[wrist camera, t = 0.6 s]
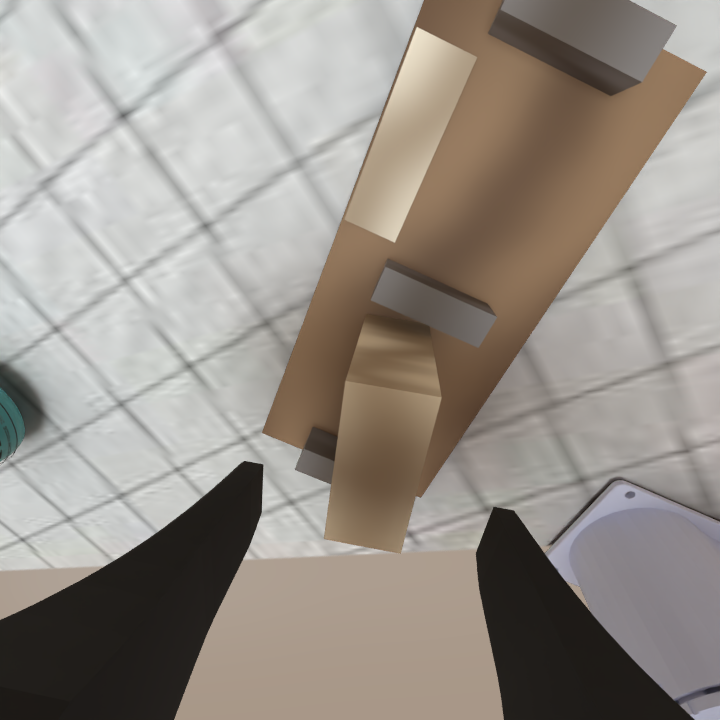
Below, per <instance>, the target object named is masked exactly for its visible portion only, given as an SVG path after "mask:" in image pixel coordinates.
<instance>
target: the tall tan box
mask: <svg viewBox="0 0 720 720" xmlns="http://www.w3.org/2000/svg"><path fill="white" fill-rule="evenodd" d="M441 398H442V397H441V391H440V385H439V379H438V374H437V368H436V362H435V356H434V351H433V345H432V339H431V333H430V328H429V326H428V325H426V324H423V323H420V322H414V321H407V320H401V319H395V318H389V317H383V316H377V315H371V314H366V317H365V320H364V323H363V326H362V329H361V333H360V336H359V339H358V342H357V346H356V349H355V352H354V355H353V358H352V362H351V365H350V368H349V371H348V374H347V378H346V381H345V388H344V395H343V403H342V410H341V417H340V425H339V432H338V439H337V447H336V454H335V461H334V469H333V476H332V483H331V491H330V498H329V505H328V513H327V520H326V527H325V534H324V539H327V540H332V541H337V542H342V543H347V544H353V545H358V546H363V547H368V548H374V549H379V550H384V551H389V552H395V553H400V554H401V550H402V546H403V542H404V539H405V535H406V531H407V527H408V523H409V520H410V516H411V512H412V508H413V504H414V501H415V497H416V493H417V489H418V485H419V482H420V478H421V474H422V470H423V466H424V463H425V459H426V455H427V451H428V447H429V444H430V440H431V436H432V432H433V429H434V425H435V421H436V417H437V413H438V410H439V406H440V402H441Z"/></svg>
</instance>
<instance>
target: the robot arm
mask: <svg viewBox="0 0 720 720" xmlns="http://www.w3.org/2000/svg"><path fill="white" fill-rule="evenodd" d="M262 487H263V464H258V463H253V462H247V461H244V462H242V463H241V464H240V465H238V466H237V467H236V468H235V469H234V470H233V471H232V472H231V473H230V474H229V475H228V476H226V477H225V478H224V479H223V480H222V481H221V482H220V483H219V484H217V485H216V486H215V487H214V488H213V489H212V490H211V491H209V492H208V493H207V494H206V495H205V496H203V497H202V498H201V499H200V500H199V501H197V502H196V503H195V504H194V505H193V506H191V507H190V508H189V509H188V510H186V511H185V512H184V513H183V514H181V515H180V516H179V517H177V518H176V519H175V520H173V521H172V522H171V523H169V524H168V525H167V526H165V527H164V528H163V529H161V530H160V531H159V532H157V533H156V534H154V535H153V536H152V537H150V538H149V539H147V540H146V541H144V542H143V543H141V544H140V545H138V546H137V547H135V548H134V549H132V550H131V551H129V552H128V553H126V554H124V555H123V556H121V557H120V558H118V559H116V560H115V561H113V562H111V563H110V564H108V565H106V566H105V567H103V568H101V569H100V570H98V571H96V572H95V573H93V574H91V575H89V576H88V577H86V578H84V579H82V580H80V581H79V582H77V583H75V584H73V585H71V586H69V587H67V588H65V589H63V590H61V591H59V592H57V593H56V594H54V595H52V596H50V597H48V598H46V599H44V600H42V601H40V602H38V603H36V604H34V605H32V606H30V607H28V608H26V609H23V610H21V611H19V612H17V613H15V614H13V615H11V616H8V617H6V618H4V619H1V620H0V720H174V718H175V716H176V713H177V710H178V708H179V705H180V702H181V700H182V697H183V694H184V692H185V689H186V686H187V684H188V681H189V679H190V676H191V673H192V671H193V668H194V666H195V663H196V660H197V658H198V655H199V653H200V650H201V648H202V645H203V643H204V640H205V637H206V635H207V633H208V630H209V628H210V626H211V624H212V622H213V619H214V617H215V615H216V613H217V611H218V609H219V607H220V605H221V603H222V601H223V599H224V597H225V595H226V593H227V591H228V589H229V586H230V584H231V583H232V580H233V578H234V577H235V574H236V572H237V570H238V568H239V566H240V564H241V562H242V560H243V558H244V556H245V554H246V552H247V550H248V548H249V546H250V543H251V541H252V538H253V535H254V532H255V530H256V527H257V524H258V521H259V518H260V516H261V513H262ZM630 491H631V492H630ZM627 492H629V493H627ZM476 560H477V572H478V582H479V590H480V595H481V599H482V604H483V610H484V615H485V619H486V624H487V628H488V633H489V638H490V643H491V647H492V652H493V657H494V661H495V666H496V671H497V676H498V682H499V687H500V693H501V700H502V707H503V714H504V720H720V521H717V520H715V519H713V518H710V517H708V516H706V515H703V514H701V513H699V512H696V511H694V510H692V509H689V508H687V507H685V506H682V505H680V504H678V503H675V502H673V501H671V500H668V499H666V498H664V497H661V496H659V495H657V494H654V493H652V492H650V491H647V490H645V489H643V488H640V487H638V486H636V485H633V484H631V483H629V482H626V481H623V480H617V481H615V482H613V483H612V484H611V485H610V486H609V487H608V488H607V489H606V490H605V491H604V492H603V493H602V494H601V495H600V496H599V497H598V498H597V499H596V500H595V501H594V502H593V503H592V504H591V505H590V506H589V508H588V509H587V510H586V511H585V512H584V513H583V514H582V515H581V516H580V517H579V518H578V519H577V520H576V521H575V522H574V523H573V524H572V525H571V526H570V527H569V528H568V529H567V530H566V532H565V533H564V534H563V535H562V536H561V537H560V538H559V539H558V540H557V541H556V542H555V543H554V544H553V545H552V546H551V547H550V548H549V549H548V550H547V551H546V552H545V553H544V552H543V551H542V549H541V548H540V546H539V545H538V544H537V542H536V541H535V539H534V538H533V537H532V535H531V534H530V532H529V531H528V530H527V528H526V527H525V525H524V524H523V523H522V521H521V520H520V518H519V517H518V516H517V514H516V513H515V511H514V510H508V509H503V508H497V507H493V510H492V513H491V515H490V518H489V520H488V523H487V526H486V528H485V531H484V533H483V536H482V539H481V541H480V544H479V546H478V549H477V552H476ZM566 581H567V582H569V583H572V584H574V585H577V586H579V587H580V588H581V590H582V593H583V595H584V597H585V600H586V602H587V604H588V607H589V609H590V611H591V612H590V611H589V610H588V608H587V607H586V606H585V605H584V604H583V603H582V601H581V600H580V599H579V598H578V597H577V595H576V594H575V593H574V592H573V590H572V589H571V588H570V586H569V585H568V584H567V583H566Z"/></svg>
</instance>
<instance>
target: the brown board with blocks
mask: <svg viewBox="0 0 720 720" xmlns="http://www.w3.org/2000/svg"><path fill="white" fill-rule="evenodd" d="M676 26H677V25H675V24H673V23H671V22H669V21H667V20H665V19H664V18H662V17H660V16H658V15H656V14H654V13H652V12H650V11H648V10H647V9H645V8H643V7H641V6H639V5H637V4H635V3H633V2H631V1H630V0H424V2H423V5H422V7H421V10H420V13H419V15H418V18H417V21H416V23H415V26H414V29H413V31H412V34H411V37H410V39H409V42H408V45H407V47H406V50H405V53H404V55H403V58H402V61H401V63H400V66H399V69H398V71H397V74H396V77H395V79H394V82H393V85H392V87H391V90H390V93H389V95H388V98H387V101H386V103H385V106H384V109H383V111H382V114H381V117H380V119H379V122H378V125H377V127H376V130H375V133H374V135H373V138H372V141H371V143H370V146H369V149H368V151H367V154H366V157H365V159H364V162H363V165H362V167H361V170H360V173H359V175H358V178H357V181H356V183H355V186H354V189H353V191H352V194H351V197H350V199H349V202H348V205H347V207H346V210H345V213H344V215H343V218H342V221H341V223H340V226H339V229H338V231H337V234H336V237H335V239H334V242H333V245H332V247H331V250H330V253H329V255H328V258H327V261H326V263H325V266H324V269H323V271H322V274H321V277H320V279H319V282H318V285H317V287H316V290H315V293H314V295H313V298H312V301H311V303H310V306H309V309H308V311H307V314H306V317H305V319H304V322H303V325H302V327H301V330H300V333H299V335H298V338H297V341H296V343H295V346H294V349H293V351H292V354H291V357H290V359H289V362H288V365H287V367H286V370H285V373H284V375H283V378H282V381H281V383H280V386H279V389H278V391H277V394H276V397H275V399H274V402H273V405H272V407H271V410H270V413H269V415H268V418H267V421H266V423H265V426H264V429H263V431H262V433H264V434H266V435H268V436H271V437H273V438H276V439H278V440H281V441H283V442H286V443H288V444H290V445H293V446H295V447H298V448H300V449H303V450H302V453H301V455H300V458H299V460H298V463H297V465H296V468H295V470H297V471H299V472H302V473H304V474H307V475H309V476H312V477H314V478H317V479H319V480H322V481H324V482H327V483H329V484H331V483H332V476H333V469H334V461H335V454H336V447H337V439H338V432H339V425H340V417H341V410H342V403H343V395H344V388H345V381H346V378H347V374H348V371H349V368H350V365H351V362H352V358H353V355H354V352H355V349H356V346H357V342H358V339H359V336H360V333H361V329H362V326H363V323H364V320H365V317H366V314H371V315H377V316H383V317H389V318H395V319H401V320H407V321H414V322H420V323H423V324H426V325H428V326H429V328H430V333H431V339H432V345H433V351H434V356H435V362H436V368H437V374H438V379H439V385H440V391H441V397H442V398H441V402H440V406H439V410H438V413H437V417H436V421H435V425H434V429H433V432H432V436H431V440H430V444H429V447H428V451H427V455H426V459H425V463H424V466H423V470H422V474H421V478H420V482H419V485H418V489H417V493H416V496H418V497H420V498H421V497H422V495H423V494H424V492H425V491H426V489H427V488H428V486H429V485H430V483H431V482H432V480H433V479H434V477H435V476H436V474H437V473H438V471H439V470H440V468H441V467H442V465H443V464H444V462H445V461H446V459H447V458H448V456H449V455H450V454H451V452H452V451H453V449H454V448H455V446H456V445H457V443H458V442H459V440H460V439H461V437H462V436H463V434H464V433H465V431H466V430H467V428H468V427H469V425H470V424H471V422H472V421H473V419H474V418H475V416H476V415H477V413H478V412H479V410H480V409H481V407H482V406H483V404H484V403H485V401H486V400H487V398H488V397H489V395H490V394H491V393H492V391H493V390H494V388H495V387H496V385H497V384H498V382H499V381H500V379H501V378H502V376H503V375H504V373H505V372H506V370H507V369H508V367H509V366H510V364H511V363H512V361H513V360H514V358H515V357H516V355H517V354H518V352H519V351H520V349H521V348H522V346H523V345H524V343H525V342H526V340H527V339H528V337H529V336H530V334H531V333H532V331H533V330H534V329H535V327H536V326H537V324H538V323H539V321H540V320H541V318H542V317H543V315H544V314H545V312H546V311H547V309H548V308H549V306H550V305H551V303H552V302H553V300H554V299H555V297H556V296H557V294H558V293H559V291H560V290H561V288H562V287H563V285H564V284H565V282H566V281H567V279H568V278H569V276H570V275H571V273H572V272H573V270H574V269H575V267H576V266H577V265H578V263H579V262H580V260H581V259H582V257H583V256H584V254H585V253H586V251H587V250H588V248H589V247H590V245H591V244H592V242H593V241H594V239H595V238H596V236H597V235H598V233H599V232H600V230H601V229H602V227H603V226H604V224H605V223H606V221H607V220H608V218H609V217H610V215H611V214H612V212H613V211H614V209H615V208H616V206H617V205H618V203H619V202H620V201H621V199H622V198H623V196H624V195H625V193H626V192H627V190H628V189H629V187H630V186H631V184H632V183H633V181H634V180H635V178H636V177H637V175H638V174H639V172H640V171H641V169H642V168H643V166H644V165H645V163H646V162H647V160H648V159H649V157H650V156H651V154H652V153H653V151H654V150H655V148H656V147H657V145H658V144H659V142H660V141H661V140H662V138H663V137H664V135H665V134H666V132H667V131H668V129H669V128H670V126H671V125H672V123H673V122H674V120H675V119H676V117H677V116H678V114H679V113H680V111H681V110H682V108H683V107H684V105H685V104H686V102H687V101H688V99H689V98H690V96H691V95H692V93H693V92H694V90H695V89H696V87H697V86H698V84H699V83H700V81H701V80H702V78H703V77H704V76H705V74H706V73H707V72H706V71H704V70H702V69H700V68H698V67H696V66H694V65H692V64H690V63H688V62H687V61H685V60H683V59H681V58H679V57H677V56H675V55H673V54H671V53H669V52H667V51H666V50H664V49H663V47H664V46H665V44H666V43H667V41H668V39H669V38H670V36H671V34H672V33H673V31H674V30H675V28H676Z"/></svg>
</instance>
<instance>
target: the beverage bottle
mask: <svg viewBox="0 0 720 720" xmlns="http://www.w3.org/2000/svg"><path fill="white" fill-rule="evenodd" d="M24 435H25V426H24V422H23V418H22V416H21V413H20V412H19V410H18V408H17V406H16V405H15V403H14V402H13V401H12V399H11V398H10V397H9V396H8V395H7V394H6V393H5V392H4V391H3V390H2V389H1V388H0V461H2V460H3V459H5V458H6V457H7V458H8V456H9V455H11V454H12V453H13V452H14V453H15V451H16V449H17V447H18V446H19V445H20V444H21V443H22V441H23V439H24ZM14 453H13V454H14ZM12 456H13V455H12ZM12 456H11V457H12ZM11 457H10V458H11ZM10 458H9V459H10ZM5 461H6V460H5ZM5 461H4V462H5ZM0 464H1V463H0Z"/></svg>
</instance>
